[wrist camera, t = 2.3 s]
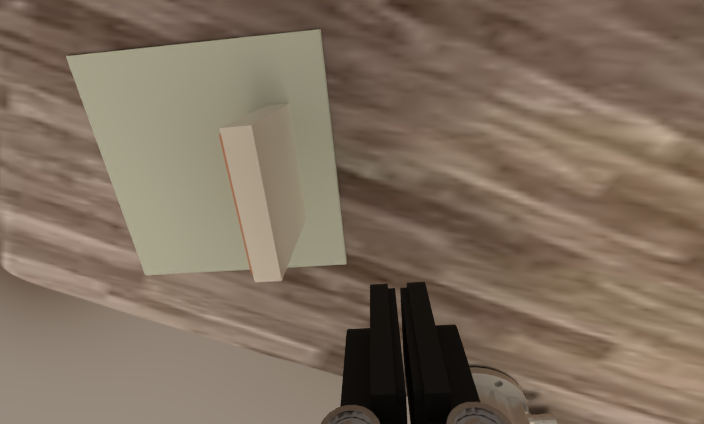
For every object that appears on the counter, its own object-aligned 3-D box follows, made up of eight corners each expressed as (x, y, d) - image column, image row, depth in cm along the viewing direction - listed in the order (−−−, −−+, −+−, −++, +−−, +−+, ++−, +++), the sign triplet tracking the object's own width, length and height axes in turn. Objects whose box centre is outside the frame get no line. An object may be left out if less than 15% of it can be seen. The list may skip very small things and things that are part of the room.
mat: (321, 29, 28) (319, 29, 27) (346, 261, 35) (346, 264, 35) (71, 56, 29) (65, 56, 29) (148, 272, 37) (145, 275, 36)
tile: (289, 103, 29) (251, 125, 20) (306, 218, 33) (281, 281, 24) (263, 105, 29) (214, 128, 20) (283, 219, 33) (250, 282, 24)
